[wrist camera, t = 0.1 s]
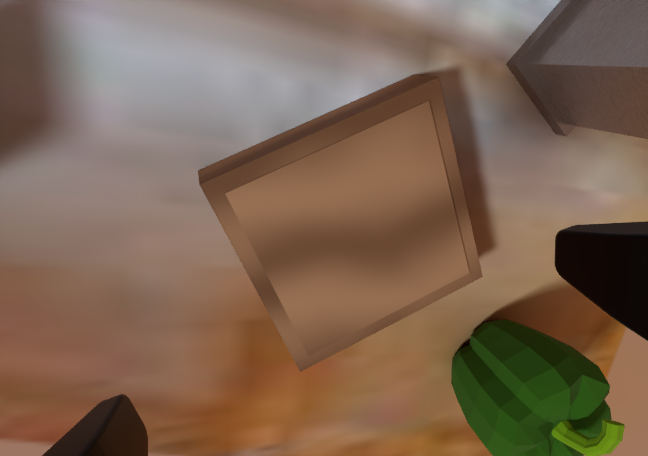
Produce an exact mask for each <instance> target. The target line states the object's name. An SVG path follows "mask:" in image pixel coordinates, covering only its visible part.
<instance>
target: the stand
mask: <svg viewBox="0 0 648 456" xmlns="http://www.w3.org/2000/svg"><path fill="white" fill-rule="evenodd" d="M198 175H199V183H200V186H201V188H202V190H203V192H204V194H205V196H206V197H207V199H208V201H209V203H210V205H211V207H212V209H213V210H214V212H215V214H216V216H217V218H218V220H219V222H220V223H221V225H222V227H223V229H224V231H225V233H226V235H227V236H228V238H229V240H230V242H231V244H232V246H233V248H234V249H235V251H236V253H237V255H238V257H239V259H240V261H241V262H242V264H243V266H244V268H245V270H246V272H247V274H248V275H249V277H250V279H251V281H252V283H253V285H254V287H255V288H256V290H257V292H258V294H259V296H260V298H261V300H262V301H263V303H264V305H265V307H266V309H267V311H268V313H269V314H270V316H271V318H272V320H273V322H274V324H275V326H276V327H277V329H278V331H279V333H280V335H281V337H282V339H283V340H284V342H285V344H286V346H287V348H288V350H289V352H290V353H291V355H292V357H293V359H294V361H295V363H296V365H297V367H298V368H299V370H300V372H301V371H303V370H305V369H306V368H308V367H310V366H312V365H314V364H316V363H318V362H320V361H322V360H324V359H326V358H328V357H329V356H331V355H333V354H335V353H337V352H339V351H341V350H343V349H345V348H347V347H349V346H351V345H353V344H354V343H356V342H358V341H360V340H362V339H364V338H366V337H368V336H370V335H372V334H374V333H376V332H377V331H379V330H381V329H383V328H385V327H387V326H389V325H391V324H393V323H395V322H397V321H399V320H400V319H402V318H404V317H406V316H408V315H410V314H412V313H414V312H416V311H418V310H420V309H422V308H423V307H425V306H427V305H429V304H431V303H433V302H435V301H437V300H439V299H441V298H443V297H445V296H446V295H448V294H450V293H452V292H454V291H456V290H458V289H460V288H462V287H464V286H466V285H468V284H469V283H471V282H473V281H475V280H477V279H479V278H481V277H483V276H482V272H481V267H480V263H479V258H478V253H477V249H476V244H475V240H474V235H473V231H472V226H471V222H470V217H469V212H468V208H467V203H466V199H465V194H464V190H463V185H462V181H461V176H460V171H459V167H458V162H457V158H456V153H455V149H454V144H453V140H452V135H451V130H450V126H449V121H448V117H447V112H446V108H445V103H444V99H443V94H442V89H441V85H440V80H439V77H431V76H420V75H412V76H410V77H407V78H405V79H403V80H401V81H398V82H396V83H394V84H392V85H389V86H387V87H385V88H383V89H380V90H378V91H376V92H374V93H371V94H369V95H367V96H365V97H362V98H360V99H358V100H356V101H353V102H351V103H349V104H347V105H344V106H342V107H340V108H338V109H335V110H333V111H331V112H329V113H327V114H324V115H322V116H320V117H318V118H315V119H313V120H311V121H309V122H306V123H304V124H302V125H300V126H297V127H295V128H293V129H291V130H288V131H286V132H284V133H282V134H279V135H277V136H275V137H273V138H270V139H268V140H266V141H264V142H261V143H259V144H257V145H255V146H252V147H250V148H248V149H246V150H243V151H241V152H239V153H237V154H234V155H232V156H230V157H228V158H225V159H223V160H221V161H219V162H216V163H214V164H212V165H210V166H207V167H205V168H203V169H201V170H198Z"/></svg>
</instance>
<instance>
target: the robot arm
mask: <svg viewBox="0 0 648 456" xmlns="http://www.w3.org/2000/svg"><path fill="white" fill-rule="evenodd" d="M555 267H556V270H557V272H558V273H559V275H560V276H561V277H562V278H563V279H565V280H566V281H567V282H568V283H570V284H571V285H572V286H573V287H575V288H576V289H577V290H578V291H580V292H581V293H582V294H583V295H585V296H586V297H587V298H588V299H590V300H591V301H592V302H594V303H595V304H596V305H597V306H599V307H600V308H601V309H602V310H604V311H605V312H606V313H608V314H609V315H610V316H611V317H613V318H614V319H616V320H617V321H619V322H620V323H621V324H623V325H624V326H626V327H627V328H629V329H631V330H632V331H634V332H635V333H637V334H638V335H640V336H641V337H643V338H644V339H646V340H647V341H648V222H629V223H609V224H589V225H575V226H571V227H568V228H566V229H563V230H561V231H559V232H558V233H557V235H556V239H555ZM42 456H148V437H147V431H146V428H145V425H144V423H143V422H142V420H141V418H140V416H139V415H138V413H137V411H136V410H135V408H134V406H133V404H132V403H131V401H130V399H129V398H128V397H127V396H126V395H124V394H121V395H118V396H115V397H112V398H110V399H107V400H104V401H102V402H100V403H99V404H98V405H97V406H96V407H95V408H93V409H92V410H91V411H90V412H89V413H88V414H87V415H86V416H85V417H84V418H83V419H81V420H80V421H79V422H78V423H77V424H76V425H75V426H74V427H73V428H72V429H71V430H70V431H68V432H67V433H66V434H65V435H64V436H63V437H62V438H61V439H60V440H59V441H58V442H56V443H55V444H54V445H53V446H52V447H51V448H50V449H49V450H48V451H47V452H46V453H44V455H42Z"/></svg>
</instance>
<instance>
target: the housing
mask: <svg viewBox="0 0 648 456" xmlns="http://www.w3.org/2000/svg"><path fill="white" fill-rule="evenodd" d="M506 65H507V67H508V68H509V69H510V71H511V72H512V74H513V75H514V76H515V78H516V79H517V81H518V82H519V83H520V85H521V86H522V88H523V89H524V90H525V92H526V93H527V95H528V96H529V97H530V99H531V100H532V102H533V103H534V104H535V106H536V107H537V109H538V110H539V111H540V113H541V114H542V116H543V117H544V118H545V120H546V121H547V123H548V124H549V125H550V127H551V128H552V130H553V131H554V132H555V134H557V135H562V136H567V135H568V134H569V133H570V132H571V130H572V129H573V128H574V127H575V126H580V127H585V128H591V129H596V130H602V131H607V132H613V133H618V134H624V135H629V136H634V137H640V138H645V139H648V0H561V1H560V2H559V3H558V4H557V6H556V7H555V8H554V9H553V10H552V11H551V13H550V14H549V15H548V16H547V17H546V18H545V19H544V21H543V22H542V23H541V24H540V25H539V26H538V28H537V29H536V30H535V31H534V32H533V33H532V35H531V36H530V37H529V38H528V39H527V40H526V42H525V43H524V44H523V45H522V46H521V47H520V48H519V50H518V51H517V52H516V53H515V54H514V55H513V57H512V58H511V59H510V60H509V61H508V62H507V64H506Z"/></svg>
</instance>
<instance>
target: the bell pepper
mask: <svg viewBox="0 0 648 456" xmlns="http://www.w3.org/2000/svg"><path fill="white" fill-rule="evenodd" d="M451 383H452V386H453V389H454V391H455V394H456V397H457V400H458V402H459V404H460V406H461V408H462V411H463V413H464V415H465V417H466V420H467V422H468V424H469V425H470V426H471V428H472V429H473V430H474V432H475V433H476V434H477V436H478V437H479V439H480V440H481V441H482V443H483V444H484V445H485V447H486V448H487V449H488V450H489V452H490V453H491V454H492V455H493V456H583V455H586V456H599V455H604V454H609V453H611V452H612V451H613V450H614V449H615V448H616V447H617V445H618V444H619V443H620V442H621V441H622V438H623V432H624V424H622V423H619V422H616V421H612V420H611V413H610V408H609V406H608V405H607V403H606V402H605V400H604V399H605V397H606V396H607V395H608V393H609V388H610V385H609V384H608V382H607V380H606V378H605V377H604V375H603V373H602V372H601V370H600V368H599V367H598V366H597V365H596V364H594V363H593V362H591V361H590V360H589V359H587V358H586V357H585V356H583V355H582V354H581V353H579V352H578V351H576V350H575V349H574V348H572V347H571V346H569V345H567V344H565V343H562V342H560V341H558V340H556V339H554V338H552V337H550V336H548V335H546V334H544V333H541V332H539V331H536V330H534V329H532V328H529V327H527V326H524V325H522V324H518V323H515V322H512V321H509V320H496V321H491V322H486V323H483V324H482V325H481V326H480V327H479V328H478V329H477V330H476V331H475V332H474V333H473V334H472V335H471V339H470V345H468V346H466V347H464V348H462V349H460V350H459V351H458V352H457V353H456V355H455V356H454V357H453V360H452V380H451Z"/></svg>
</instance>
